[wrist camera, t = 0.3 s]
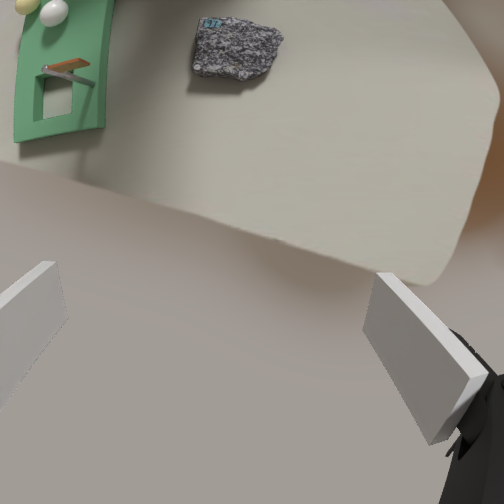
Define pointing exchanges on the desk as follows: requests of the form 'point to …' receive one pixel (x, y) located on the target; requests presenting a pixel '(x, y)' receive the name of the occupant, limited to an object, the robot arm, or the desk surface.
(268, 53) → the rock
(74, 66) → the pin
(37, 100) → the green board with hole
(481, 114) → the desk surface
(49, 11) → the ball
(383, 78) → the desk surface
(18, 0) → the ball
